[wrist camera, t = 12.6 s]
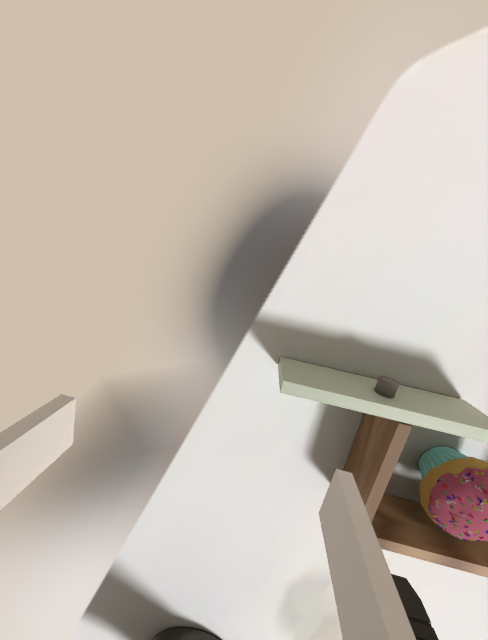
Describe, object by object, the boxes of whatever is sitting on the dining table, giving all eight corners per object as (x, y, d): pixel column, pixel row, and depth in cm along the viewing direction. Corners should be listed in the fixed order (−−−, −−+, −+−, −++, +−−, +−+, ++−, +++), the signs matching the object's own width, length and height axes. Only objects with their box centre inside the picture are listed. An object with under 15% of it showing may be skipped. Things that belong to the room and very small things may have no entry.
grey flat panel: (278, 366, 29) (280, 392, 23) (283, 345, 28) (287, 366, 22) (459, 409, 28) (509, 448, 22) (469, 388, 27) (524, 422, 21)
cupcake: (454, 419, 28) (585, 529, 16) (494, 472, 29) (644, 612, 17) (386, 456, 30) (460, 578, 18) (426, 505, 31) (520, 651, 19)
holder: (336, 489, 32) (350, 540, 26) (376, 378, 28) (404, 409, 22) (514, 536, 31) (572, 600, 25) (582, 427, 27) (668, 472, 21)
